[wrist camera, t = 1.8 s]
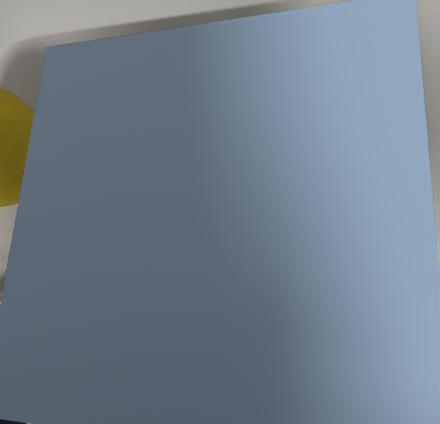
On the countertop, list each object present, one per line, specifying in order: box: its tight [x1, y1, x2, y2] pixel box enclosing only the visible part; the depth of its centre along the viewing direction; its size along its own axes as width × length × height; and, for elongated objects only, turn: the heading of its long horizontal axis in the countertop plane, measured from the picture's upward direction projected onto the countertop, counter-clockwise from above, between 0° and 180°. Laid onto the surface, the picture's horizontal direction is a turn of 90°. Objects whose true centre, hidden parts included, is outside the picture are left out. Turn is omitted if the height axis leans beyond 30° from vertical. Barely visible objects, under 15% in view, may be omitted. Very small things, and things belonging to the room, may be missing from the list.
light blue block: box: [0, 0, 440, 424], centre depth 11 cm, size 5×5×13 cm
